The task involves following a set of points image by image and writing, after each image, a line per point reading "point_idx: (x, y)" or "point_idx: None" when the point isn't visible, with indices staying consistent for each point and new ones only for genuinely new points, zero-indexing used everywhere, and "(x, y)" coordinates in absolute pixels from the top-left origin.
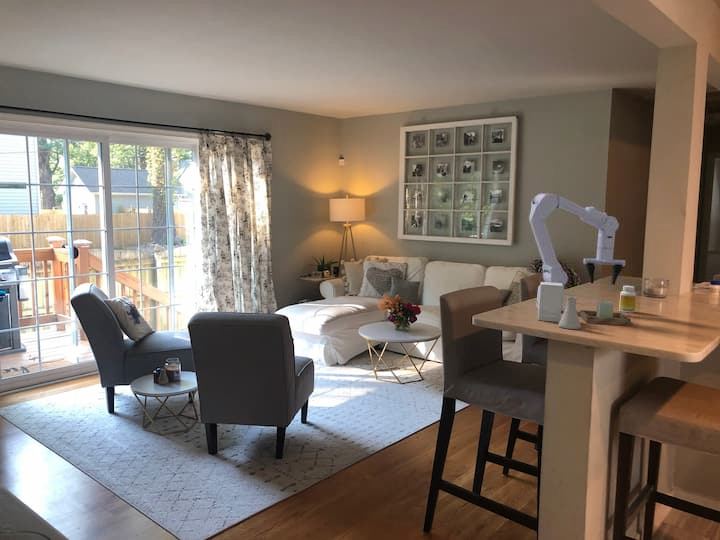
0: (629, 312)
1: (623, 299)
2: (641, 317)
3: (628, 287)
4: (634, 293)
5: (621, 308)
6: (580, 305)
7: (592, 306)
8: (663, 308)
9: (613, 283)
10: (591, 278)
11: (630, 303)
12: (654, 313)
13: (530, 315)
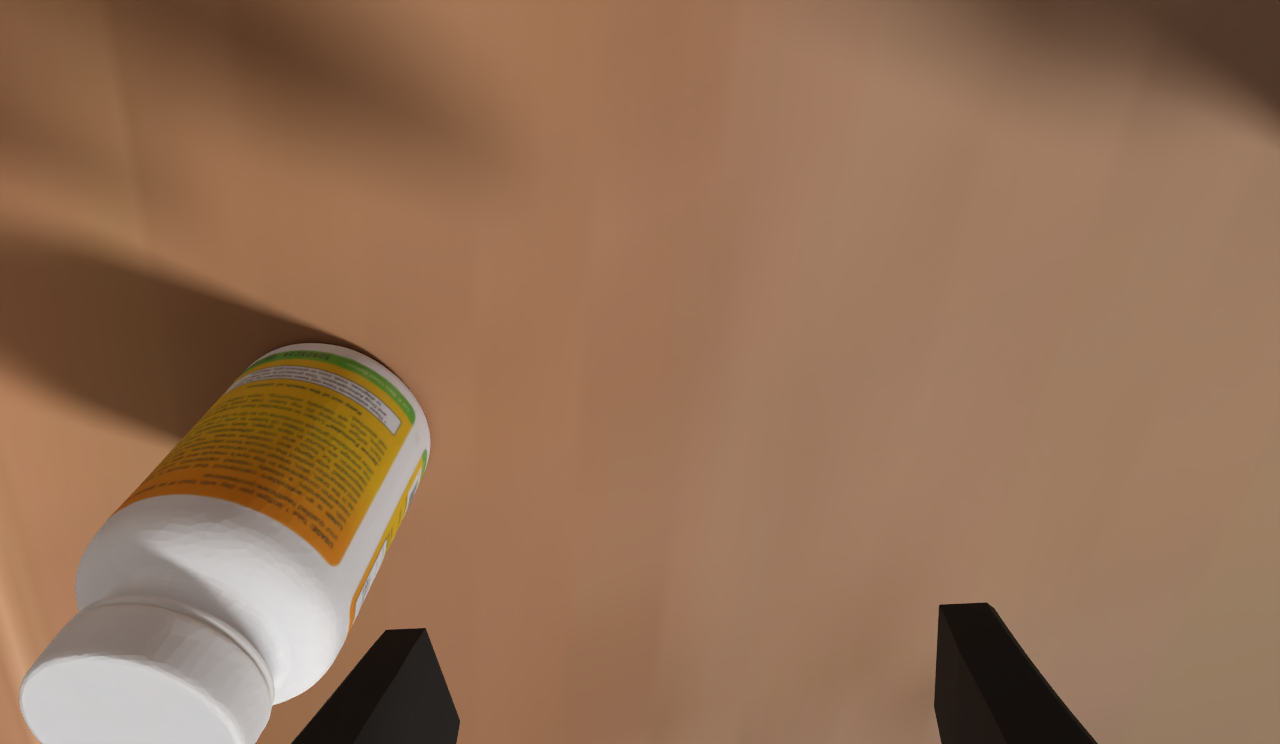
0: (290, 346)
1: (311, 473)
2: (80, 25)
3: (119, 648)
4: (80, 573)
5: (385, 398)
6: (909, 592)
7: (756, 584)
8: (12, 735)
9: (401, 644)
10: (1064, 704)
11: (221, 415)
12: (10, 437)
13: None
